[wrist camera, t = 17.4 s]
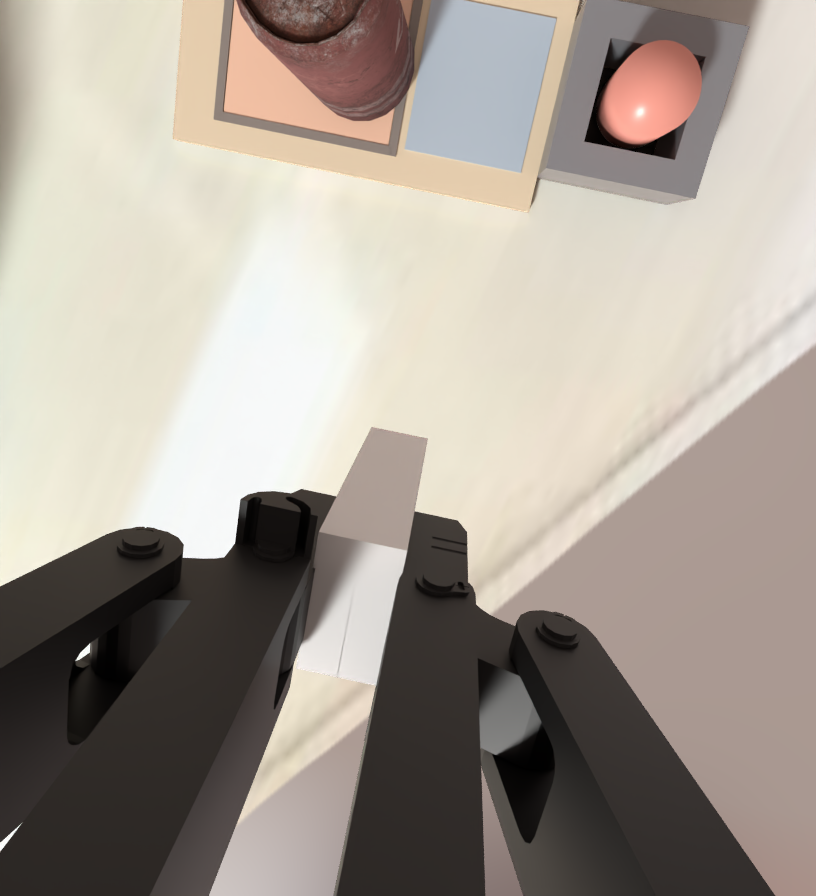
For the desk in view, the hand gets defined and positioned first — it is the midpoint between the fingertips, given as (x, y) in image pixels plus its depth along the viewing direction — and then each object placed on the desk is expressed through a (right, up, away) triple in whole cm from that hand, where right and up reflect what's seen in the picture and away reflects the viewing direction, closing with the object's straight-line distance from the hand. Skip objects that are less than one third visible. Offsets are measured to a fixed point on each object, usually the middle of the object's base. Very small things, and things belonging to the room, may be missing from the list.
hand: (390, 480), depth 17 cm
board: (-2, +23, +21) cm, 31 cm away
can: (-2, +23, +20) cm, 31 cm away
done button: (+13, +19, +18) cm, 29 cm away
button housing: (+13, +20, +20) cm, 31 cm away
